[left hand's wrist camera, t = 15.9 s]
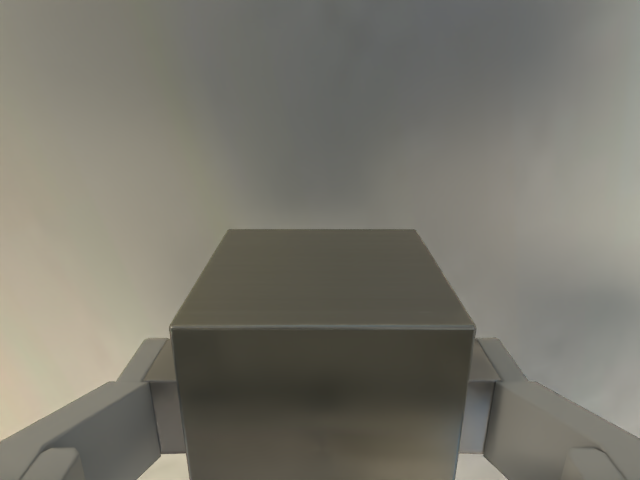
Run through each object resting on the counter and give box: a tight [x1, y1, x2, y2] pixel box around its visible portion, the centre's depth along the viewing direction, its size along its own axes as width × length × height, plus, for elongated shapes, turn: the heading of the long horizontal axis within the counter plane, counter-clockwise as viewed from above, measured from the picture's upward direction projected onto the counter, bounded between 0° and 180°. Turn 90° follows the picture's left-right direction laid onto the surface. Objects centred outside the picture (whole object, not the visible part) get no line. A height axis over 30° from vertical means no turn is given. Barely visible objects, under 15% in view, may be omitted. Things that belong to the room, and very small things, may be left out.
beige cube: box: [169, 229, 476, 480], centre depth 10 cm, size 5×5×5 cm
